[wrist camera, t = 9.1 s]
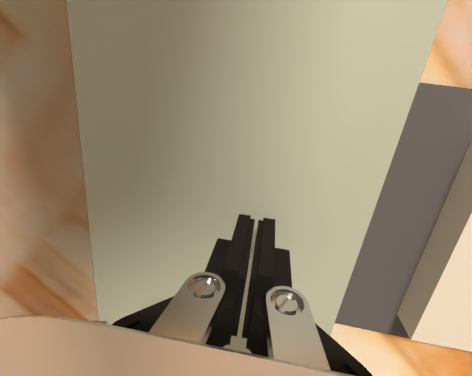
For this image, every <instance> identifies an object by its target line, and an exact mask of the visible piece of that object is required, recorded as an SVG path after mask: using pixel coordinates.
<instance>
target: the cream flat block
mask: <svg viewBox="0 0 472 376" xmlns="http://www.w3.org/2000/svg"><path fill="white" fill-rule="evenodd" d="M397 315H398V317H399V318H400V320H401V322H402V324H403V326H404V328H405V330H406V332H407V334H408V336H409V337H410V339H411V340H414V341H419V342H424V343H430V344H435V345H440V346H445V347H450V348H456V349H461V350H466V351H471V352H472V140H471V142H470V145H469V147H468V149H467V152H466V154H465V156H464V159H463V161H462V163H461V166H460V168H459V170H458V173H457V175H456V177H455V180H454V182H453V184H452V187H451V189H450V191H449V193H448V196H447V198H446V200H445V203H444V205H443V207H442V210H441V212H440V214H439V217H438V219H437V221H436V224H435V226H434V228H433V231H432V233H431V235H430V238H429V240H428V242H427V245H426V247H425V249H424V252H423V254H422V256H421V259H420V261H419V263H418V266H417V268H416V270H415V273H414V275H413V277H412V280H411V282H410V284H409V287H408V289H407V291H406V294H405V296H404V298H403V300H402V303H401V305H400V307H399V310H398V312H397Z"/></svg>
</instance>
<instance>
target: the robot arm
mask: <svg viewBox="0 0 472 376" xmlns="http://www.w3.org/2000/svg"><path fill="white" fill-rule="evenodd" d="M254 222H255V219H251V216H250V215H244V214H239V216H238V220H237V223H236V226H235V230H234V233H233V236H232V240H226V239H220V238H218V239H217V241H216V244H215V246H214V249H213V251H212V254H211V256H210V259H209V262H208V264H207V267H206V269H205V272H199V273H196V274H193V275H191V276H190V277H188V278H187V279H186V281H185V282H184V283H183V285H182V286H181V288H180V289H179V290H178V292H177V293H176V295H175V296H173V297H171V298H168V299H166V300H164V301H161V302H159V303H156V304H154V305H152V306H149V307H147V308H144V309H142V310H140V311H137V312H135V313H132V314H130V315H128V316H125V317H123V318H121V319H119V320H117V321H115V322H114V323H113V324H112V325H108V324H107V321H86V320H80V319H74V318H67V317H61V316H48V315H21V316H13V317H5V318H0V376H372V374H371V373H370V372H369V371H368V370H367V369H366V368H365V367H364V366H363V365H362V364H361V363H359V362H358V361H357V360H356V359H355V358H354V357H353V356H352V355H351V354H349V353H348V352H347V351H346V350H345V349H344V348H343V347H342V346H340V345H339V344H338V343H337V342H336V341H335V340H334V339H333V338H332V337H330V336H329V335H328V334H327V333H326V332H325V331H324V330H323V329H321V328H320V327H319V326H318V325H317V324H316V323H315V321H314V318H313V315H312V312H311V309H310V306H309V303H308V301H307V299H306V298H305V297H304V295H303V294H302V293H300V292H299V291H297V290H296V289H293V288H292V278H291V264H290V252H289V250H286V249H280V248H275V219H269V218H263V221H262V220H259V221H258V227H257V234H256V241H255V248H254V254H253V261H252V268H251V275H250V282H249V289H248V296H247V303H246V310H245V317H244V324H243V331H242V338H246V339H247V343H246V349H249V350H250V352H251V353H252V354H251V353H246V352H241V351H237V350H232V349H227V348H222V347H224V346H225V345H230V341H231V336H236V337H237V333H238V327H239V321H240V315H241V309H242V303H243V296H244V290H245V284H246V278H247V271H248V265H249V258H250V250H251V243H252V236H253V229H254Z"/></svg>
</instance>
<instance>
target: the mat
mask: <svg viewBox="0 0 472 376" xmlns="http://www.w3.org/2000/svg"><path fill="white" fill-rule="evenodd" d="M471 140H472V89H467V88H459V87H451V86H442V85H434V84H426V83H419V85H418V88H417V90H416V93H415V96H414V99H413V102H412V105H411V107H410V110H409V113H408V116H407V119H406V122H405V124H404V127H403V130H402V133H401V136H400V139H399V141H398V144H397V147H396V150H395V153H394V156H393V158H392V161H391V164H390V167H389V170H388V173H387V175H386V178H385V181H384V184H383V187H382V190H381V192H380V195H379V198H378V201H377V204H376V207H375V209H374V212H373V215H372V218H371V221H370V224H369V226H368V229H367V232H366V235H365V238H364V241H363V243H362V246H361V249H360V252H359V255H358V258H357V260H356V263H355V266H354V269H353V272H352V275H351V277H350V280H349V283H348V286H347V289H346V292H345V294H344V297H343V300H342V303H341V306H340V309H339V311H338V314H337V317H336V320H335V323H338V324H343V325H348V326H352V327H357V328H362V329H367V330H372V331H376V332H381V333H386V334H391V335H396V336H400V337H405V338H410V337H409V336H408V334H407V332H406V330H405V328H404V326H403V324H402V322H401V320H400V318H399V317H398V315H397V312H398V310H399V307H400V305H401V303H402V300H403V298H404V296H405V294H406V291H407V289H408V287H409V284H410V282H411V280H412V277H413V275H414V273H415V270H416V268H417V266H418V263H419V261H420V259H421V256H422V254H423V252H424V249H425V247H426V245H427V242H428V240H429V238H430V235H431V233H432V231H433V228H434V226H435V224H436V221H437V219H438V217H439V214H440V212H441V210H442V207H443V205H444V203H445V200H446V198H447V196H448V193H449V191H450V189H451V187H452V184H453V182H454V180H455V177H456V175H457V173H458V170H459V168H460V166H461V163H462V161H463V159H464V156H465V154H466V152H467V149H468V147H469V145H470V142H471Z"/></svg>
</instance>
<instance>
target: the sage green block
mask: <svg viewBox="0 0 472 376" xmlns="http://www.w3.org/2000/svg"><path fill="white" fill-rule="evenodd" d="M447 3H448V0H66V4H67V14H68V24H69V34H70V43H71V53H72V63H73V73H74V83H75V93H76V103H77V113H78V123H79V133H80V143H81V153H82V163H83V172H84V182H85V192H86V202H87V212H88V222H89V232H90V242H91V252H92V262H93V272H94V282H95V292H96V301H97V311H98V321H107V324H108V325H112V324H113V323H114V322H115V321H117V320H119V319H121V318H123V317H125V316H128V315H130V314H132V313H135V312H137V311H140V310H142V309H144V308H147V307H149V306H152V305H154V304H156V303H159V302H161V301H164V300H166V299H168V298H171V297H173V296H175V295H176V293H177V292H178V290H179V289H180V288H181V286H182V285H183V283H184V282H185V281H186V279H187V278H188V277H190V276H191V275H193V274H196V273H199V272H205V269H206V267H207V264H208V262H209V259H210V256H211V254H212V251H213V249H214V246H215V244H216V241H217V239H218V238H220V239H226V240H232V236H233V233H234V230H235V226H236V223H237V220H238V216H239V214H244V215H250V216H251V219H255V222H254V229H253V236H252V243H251V250H250V258H249V265H248V271H247V278H246V284H245V290H244V296H243V303H242V309H241V315H240V321H239V327H238V333H237V337H236V336H231V341H230V345H225V346H224V347H222V348H227V349H232V350H237V351H241V352H246V353H251V352H250V350H249V349H246V343H247V339H246V338H242V331H243V324H244V317H245V310H246V303H247V296H248V289H249V282H250V275H251V268H252V261H253V254H254V248H255V241H256V234H257V227H258V221H259V220H262V221H263V218H269V219H275V248H280V249H286V250H289V252H290V264H291V278H292V288H293V289H296V290H297V291H299V292H300V293H302V294H303V295H304V297H305V298H306V299H307V301H308V303H309V306H310V309H311V312H312V315H313V318H314V321H315V323H316V324H317V325H318V326H319V327H320V328H321V329H323V330H324V331H325V332H326V333H327V334H328V335H329V336H330V334H331V331H332V328H333V326H334V323H335V320H336V317H337V314H338V311H339V309H340V306H341V303H342V300H343V297H344V294H345V292H346V289H347V286H348V283H349V280H350V277H351V275H352V272H353V269H354V266H355V263H356V260H357V258H358V255H359V252H360V249H361V246H362V243H363V241H364V238H365V235H366V232H367V229H368V226H369V224H370V221H371V218H372V215H373V212H374V209H375V207H376V204H377V201H378V198H379V195H380V192H381V190H382V187H383V184H384V181H385V178H386V175H387V173H388V170H389V167H390V164H391V161H392V158H393V156H394V153H395V150H396V147H397V144H398V141H399V139H400V136H401V133H402V130H403V127H404V124H405V122H406V119H407V116H408V113H409V110H410V107H411V105H412V102H413V99H414V96H415V93H416V90H417V88H418V85H419V82H420V79H421V76H422V73H423V71H424V68H425V65H426V62H427V59H428V56H429V54H430V51H431V48H432V45H433V42H434V39H435V37H436V34H437V31H438V28H439V25H440V22H441V20H442V17H443V14H444V11H445V8H446V5H447ZM251 354H252V353H251Z"/></svg>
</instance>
